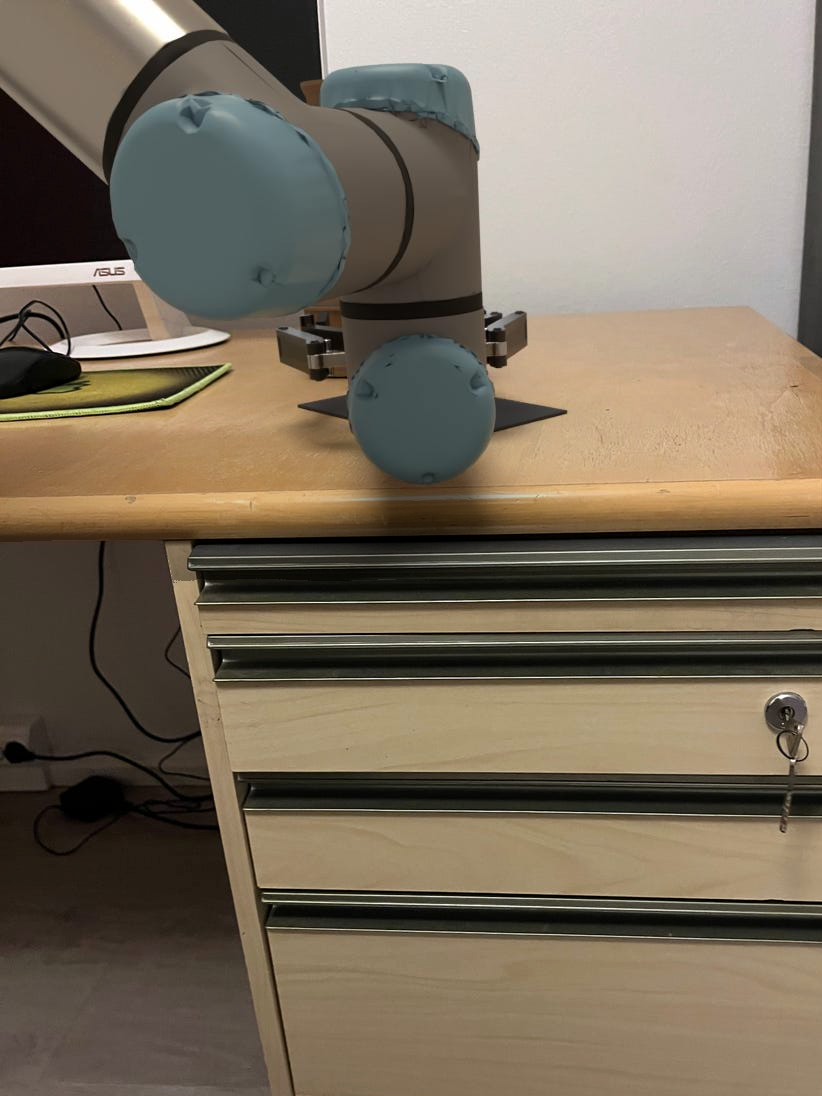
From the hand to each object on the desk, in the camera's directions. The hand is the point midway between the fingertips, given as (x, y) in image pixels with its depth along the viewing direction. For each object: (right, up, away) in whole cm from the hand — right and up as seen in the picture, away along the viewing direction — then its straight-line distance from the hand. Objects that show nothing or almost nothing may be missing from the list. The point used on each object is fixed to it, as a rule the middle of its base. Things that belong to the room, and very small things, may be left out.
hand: (400, 323), depth 82 cm
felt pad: (+2, -8, -3) cm, 9 cm away
